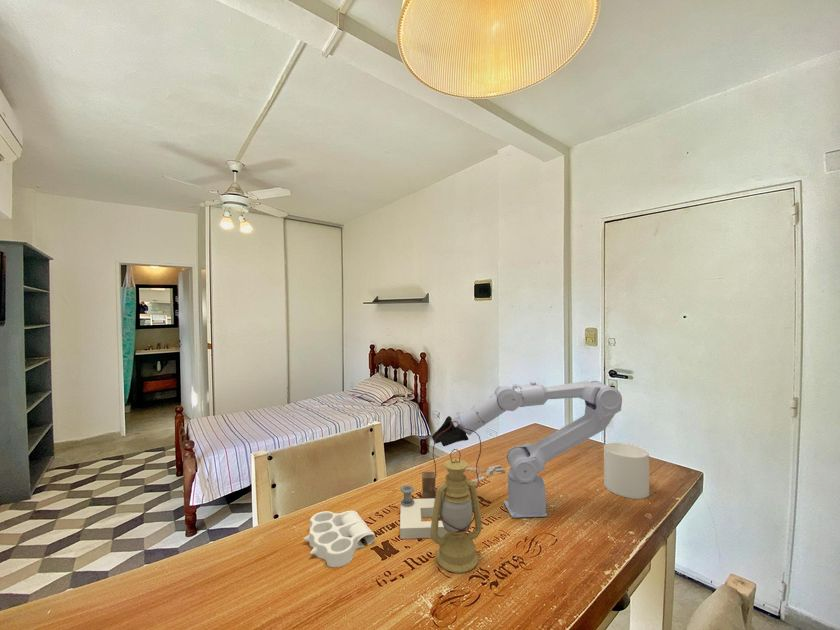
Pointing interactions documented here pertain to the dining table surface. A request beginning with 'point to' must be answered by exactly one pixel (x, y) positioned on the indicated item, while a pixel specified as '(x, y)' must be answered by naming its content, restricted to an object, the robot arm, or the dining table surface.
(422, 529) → the slotted board
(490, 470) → the pliers
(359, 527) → the white holed flat piece
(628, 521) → the dining table surface
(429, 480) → the block
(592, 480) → the dining table surface
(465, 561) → the lantern
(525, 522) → the dining table surface
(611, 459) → the cup
